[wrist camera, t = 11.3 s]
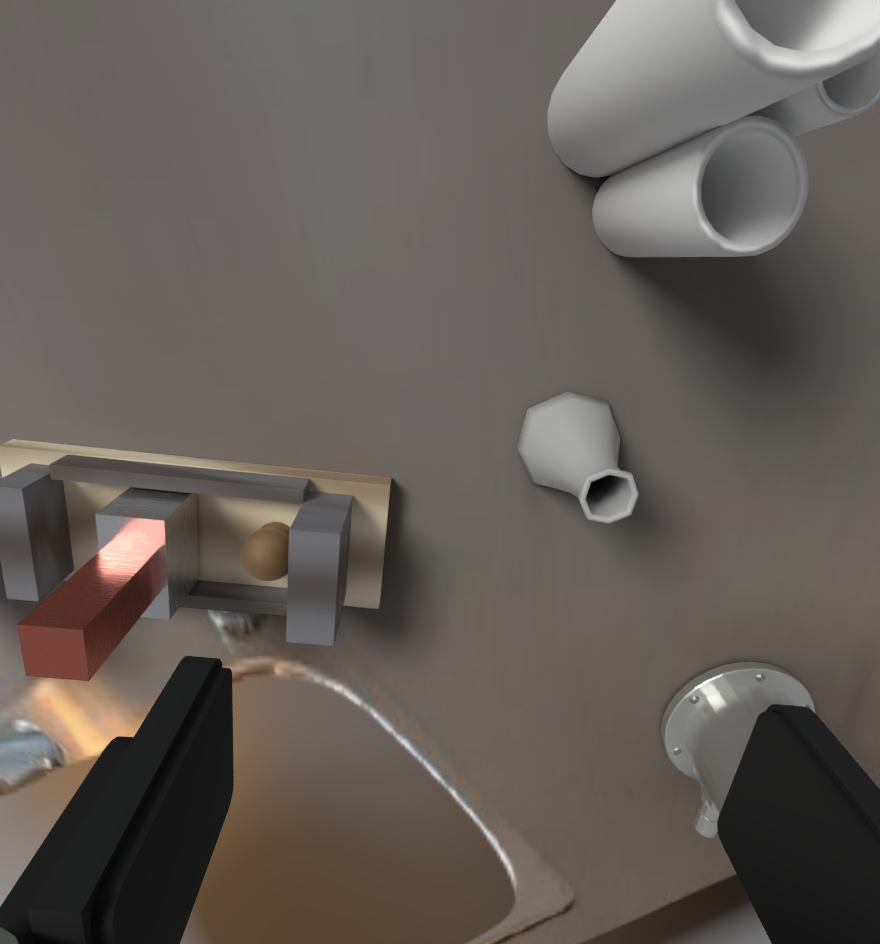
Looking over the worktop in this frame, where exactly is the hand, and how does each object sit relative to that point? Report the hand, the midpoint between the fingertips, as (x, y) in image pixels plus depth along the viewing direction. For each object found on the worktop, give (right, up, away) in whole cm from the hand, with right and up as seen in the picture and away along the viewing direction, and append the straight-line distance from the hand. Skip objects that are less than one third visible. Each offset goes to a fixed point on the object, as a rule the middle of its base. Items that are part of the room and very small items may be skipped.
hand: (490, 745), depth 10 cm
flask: (+8, +7, +30) cm, 32 cm away
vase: (+10, +24, +24) cm, 35 cm away
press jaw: (-20, +1, +30) cm, 36 cm away
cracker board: (-18, +1, +32) cm, 36 cm away
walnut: (-12, 0, +31) cm, 33 cm away
